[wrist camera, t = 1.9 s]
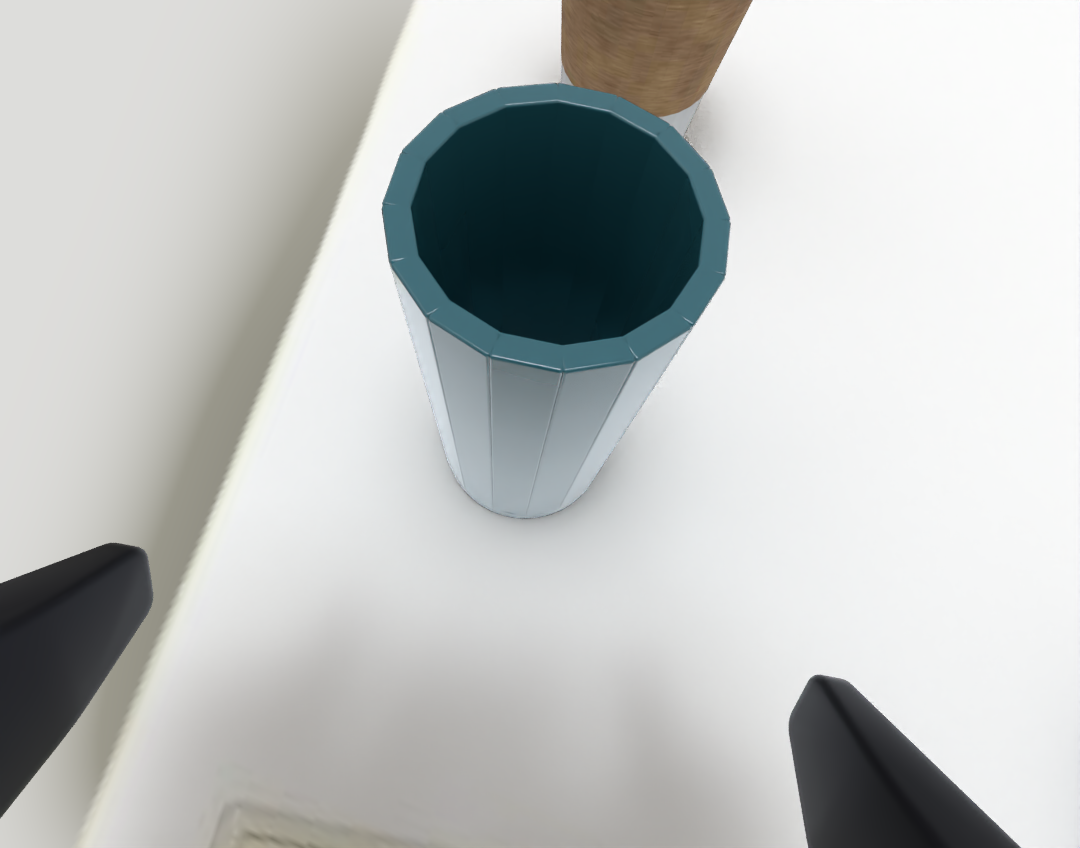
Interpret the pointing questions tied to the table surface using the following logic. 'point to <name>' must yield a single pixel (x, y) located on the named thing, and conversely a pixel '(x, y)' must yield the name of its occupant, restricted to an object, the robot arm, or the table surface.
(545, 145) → the tumbler
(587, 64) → the coffee cup
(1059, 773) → the table surface
